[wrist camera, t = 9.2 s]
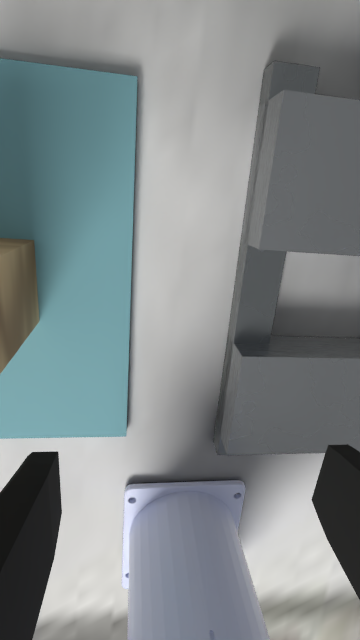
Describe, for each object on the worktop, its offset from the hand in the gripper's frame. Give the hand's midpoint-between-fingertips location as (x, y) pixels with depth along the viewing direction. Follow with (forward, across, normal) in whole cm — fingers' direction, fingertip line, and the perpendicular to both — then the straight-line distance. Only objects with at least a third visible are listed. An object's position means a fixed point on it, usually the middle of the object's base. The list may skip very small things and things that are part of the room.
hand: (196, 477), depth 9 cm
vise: (+10, -11, -2) cm, 15 cm away
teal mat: (+10, +8, -2) cm, 14 cm away
